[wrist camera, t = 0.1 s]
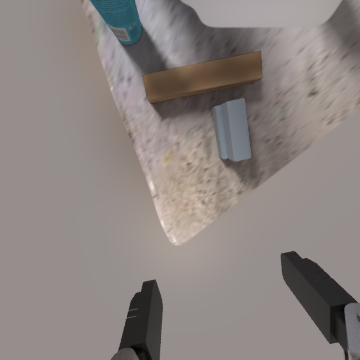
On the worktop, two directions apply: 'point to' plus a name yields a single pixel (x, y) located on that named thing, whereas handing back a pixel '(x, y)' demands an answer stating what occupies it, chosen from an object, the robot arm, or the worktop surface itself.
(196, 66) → the walnut bar
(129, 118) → the worktop surface
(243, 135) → the ridge
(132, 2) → the tube
